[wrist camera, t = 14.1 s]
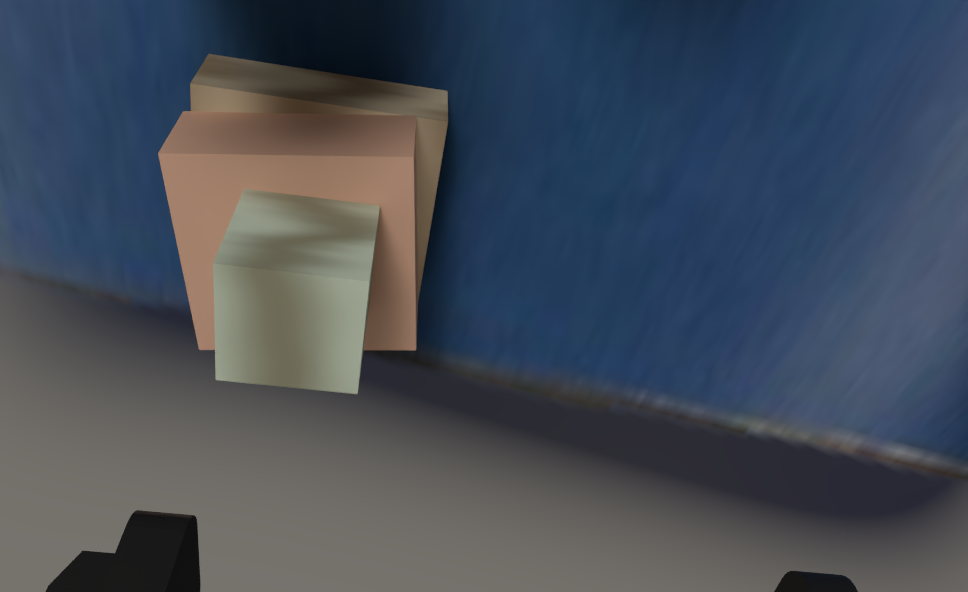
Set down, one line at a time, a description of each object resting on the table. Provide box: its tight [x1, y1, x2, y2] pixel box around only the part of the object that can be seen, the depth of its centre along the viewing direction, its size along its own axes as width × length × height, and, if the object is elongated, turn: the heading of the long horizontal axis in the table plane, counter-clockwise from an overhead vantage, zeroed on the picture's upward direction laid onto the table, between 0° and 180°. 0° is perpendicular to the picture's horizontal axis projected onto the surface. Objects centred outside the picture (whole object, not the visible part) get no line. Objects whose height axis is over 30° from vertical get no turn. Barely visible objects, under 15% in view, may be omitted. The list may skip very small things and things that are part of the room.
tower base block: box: [190, 54, 448, 299], centre depth 41 cm, size 11×11×4 cm
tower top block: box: [158, 111, 418, 350], centre depth 38 cm, size 10×10×4 cm
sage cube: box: [213, 189, 380, 394], centre depth 34 cm, size 6×6×6 cm
